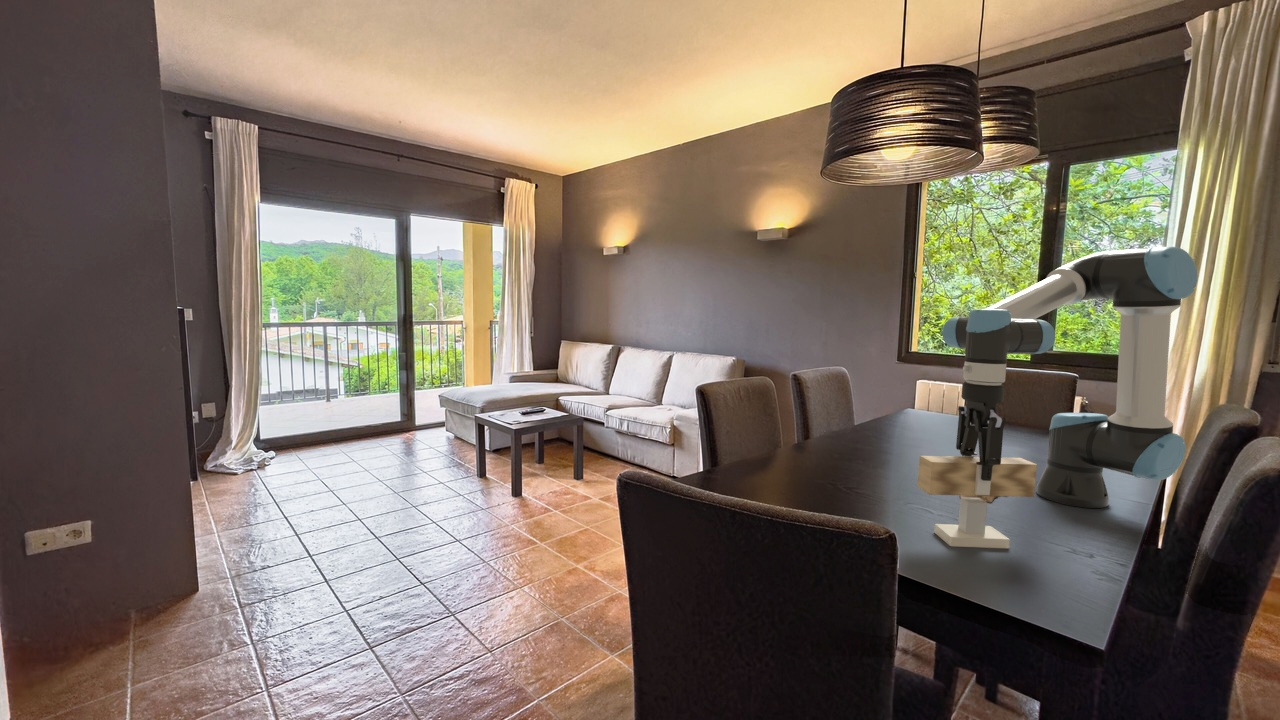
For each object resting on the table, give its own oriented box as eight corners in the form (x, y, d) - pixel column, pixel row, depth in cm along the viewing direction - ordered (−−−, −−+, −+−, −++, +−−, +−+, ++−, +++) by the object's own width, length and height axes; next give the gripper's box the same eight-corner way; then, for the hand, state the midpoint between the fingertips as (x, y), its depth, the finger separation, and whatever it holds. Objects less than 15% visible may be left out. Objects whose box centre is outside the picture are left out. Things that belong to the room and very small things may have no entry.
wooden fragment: (984, 507, 139) (985, 503, 139) (940, 494, 148) (941, 490, 148) (1027, 489, 154) (1027, 485, 154) (984, 479, 163) (985, 475, 163)
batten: (1017, 488, 120) (1020, 457, 119) (1033, 496, 115) (1037, 464, 114) (917, 486, 120) (919, 455, 119) (929, 494, 115) (931, 462, 114)
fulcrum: (989, 534, 121) (992, 495, 121) (1009, 548, 115) (1012, 507, 114) (934, 532, 122) (937, 493, 121) (950, 546, 115) (953, 505, 114)
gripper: (943, 376, 124) (935, 475, 126) (990, 388, 106) (980, 504, 108) (977, 377, 124) (969, 477, 126) (1030, 389, 106) (1019, 505, 108)
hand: (974, 489), depth 117 cm, fingers closed on batten, 5 cm apart
